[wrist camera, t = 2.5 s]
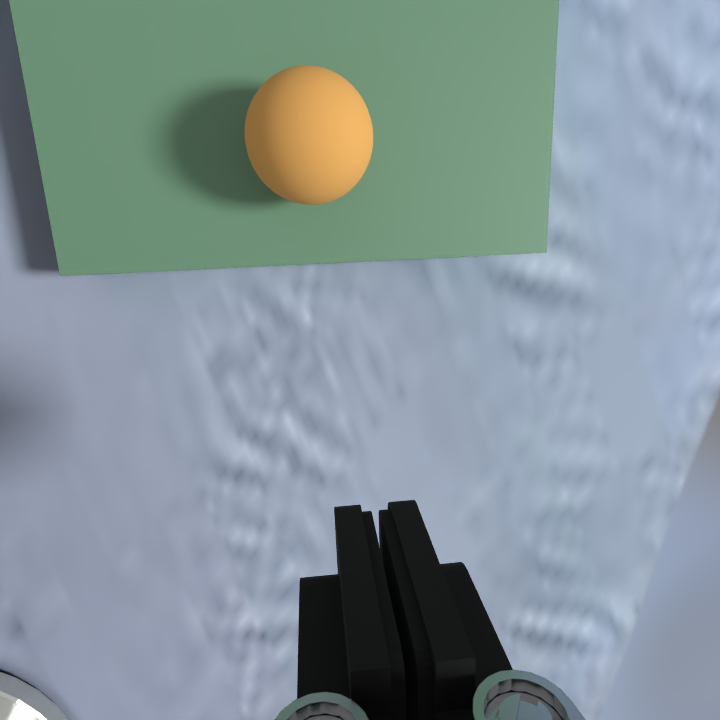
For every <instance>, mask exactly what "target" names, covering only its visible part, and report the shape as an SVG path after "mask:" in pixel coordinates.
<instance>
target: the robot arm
mask: <svg viewBox="0 0 720 720" xmlns="http://www.w3.org/2000/svg"><path fill="white" fill-rule="evenodd" d="M334 513H335V530H336V548H337V565H338V574H336V575H326V576H315V577H305V578H300V592H299V639H298V685H297V699H296V700H294V701H293V702H292V703H291V704H289V705H288V706H287V707H285V708H284V709H283V710H282V711H281V712H280V713H279V715H278V716H277V717H276V719H275V720H585V719H584V717H583V716H582V714H581V713H580V712H579V710H578V709H577V707H576V706H575V705H574V703H573V702H572V701H571V700H570V699H569V697H568V696H567V695H566V694H565V693H564V692H563V691H562V690H561V689H560V688H559V687H557V686H556V685H555V684H553V683H552V682H550V681H549V680H547V679H546V678H543V677H541V676H538V675H536V674H533V673H531V672H526V671H519V670H513V669H512V667H511V665H510V662H509V660H508V658H507V656H506V654H505V652H504V649H503V647H502V645H501V643H500V641H499V638H498V636H497V634H496V632H495V630H494V627H493V625H492V623H491V621H490V619H489V616H488V614H487V612H486V610H485V608H484V606H483V603H482V601H481V599H480V597H479V595H478V592H477V590H476V588H475V586H474V584H473V581H472V579H471V577H470V575H469V573H468V571H467V569H466V567H465V565H464V564H463V563H462V562H457V563H447V564H440V563H439V561H438V558H437V555H436V553H435V550H434V548H433V545H432V542H431V540H430V537H429V535H428V532H427V529H426V527H425V524H424V522H423V519H422V516H421V514H420V511H419V509H418V506H417V503H416V501H415V500H409V501H397V502H389V503H388V510H379V540H380V548H379V543H378V539H377V534H376V530H375V525H374V521H373V516H372V512H371V511H365V512H362V510H361V505H351V506H340V507H334ZM0 720H68V718H67V717H66V716H65V715H64V714H63V712H62V711H61V710H60V709H59V708H58V706H57V705H56V704H54V703H53V702H52V701H51V700H50V699H48V698H47V697H46V696H45V695H44V694H42V693H41V692H40V691H39V690H37V689H35V688H34V687H32V686H30V685H28V684H26V683H25V682H23V681H21V680H19V679H18V678H16V677H13V676H10V675H8V674H5V673H2V672H0Z"/></svg>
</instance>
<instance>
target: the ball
mask: <svg viewBox="0 0 720 720" xmlns="http://www.w3.org/2000/svg"><path fill="white" fill-rule="evenodd" d="M245 143H246V149H247V153H248V156H249V159H250V162H251V164H252V166H253V168H254V170H255V172H256V173H257V175H258V176H259V178H260V179H261V180H262V181H263V183H264V184H265V185H266V186H267V187H268V188H270V189H271V190H272V191H273V192H274V193H276V194H277V195H279V196H281V197H282V198H285V199H287V200H289V201H292V202H295V203H299V204H305V205H317V204H324V203H328V202H331V201H334V200H336V199H338V198H340V197H342V196H343V195H345V194H346V193H348V192H349V191H350V190H351V189H352V188H353V187H354V186H355V185H356V184H357V183H358V182H359V180H360V179H361V178H362V176H363V174H364V172H365V171H366V168H367V166H368V164H369V161H370V158H371V154H372V148H373V127H372V122H371V117H370V114H369V112H368V109H367V106H366V104H365V102H364V100H363V99H362V97H361V96H360V94H359V92H358V91H357V90H356V89H355V88H354V87H353V85H352V84H350V83H349V82H348V81H347V80H346V79H345V78H343V77H342V76H340V75H339V74H337V73H335V72H333V71H332V70H329V69H326V68H323V67H319V66H313V65H300V66H294V67H290V68H287V69H284V70H282V71H280V72H278V73H276V74H275V75H273V76H272V77H270V78H269V79H268V80H267V81H266V82H265V83H264V84H263V85H262V86H261V87H260V88H259V90H258V91H257V93H256V94H255V95H254V97H253V99H252V101H251V103H250V106H249V109H248V111H247V116H246V120H245Z"/></svg>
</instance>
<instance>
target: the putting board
mask: <svg viewBox="0 0 720 720" xmlns="http://www.w3.org/2000/svg"><path fill="white" fill-rule="evenodd" d="M9 3H10V8H11V14H12V19H13V25H14V30H15V35H16V41H17V46H18V52H19V57H20V62H21V68H22V73H23V79H24V84H25V90H26V95H27V100H28V106H29V111H30V117H31V122H32V127H33V133H34V138H35V144H36V149H37V155H38V160H39V165H40V171H41V176H42V182H43V187H44V192H45V198H46V203H47V209H48V214H49V220H50V225H51V230H52V236H53V241H54V247H55V252H56V257H57V263H58V268H59V274H60V276H71V275H91V274H112V273H133V272H154V271H174V270H195V269H216V268H237V267H258V266H278V265H299V264H320V263H341V262H361V261H382V260H403V259H424V258H445V257H465V256H486V255H507V254H528V253H546V251H547V231H548V211H549V191H550V171H551V151H552V131H553V111H554V91H555V71H556V51H557V31H558V11H559V0H9ZM300 65H313V66H319V67H323V68H326V69H329V70H332V71H333V72H335V73H337V74H339V75H340V76H342V77H343V78H345V79H346V80H347V81H348V82H349V83H350V84H352V85H353V87H354V88H355V89H356V90H357V91H358V92H359V94H360V96H361V97H362V99H363V100H364V102H365V104H366V106H367V109H368V112H369V114H370V117H371V122H372V127H373V148H372V154H371V158H370V161H369V164H368V166H367V168H366V171H365V172H364V174H363V176H362V178H361V179H360V180H359V182H358V183H357V184H356V185H355V186H354V187H353V188H352V189H351V190H350V191H349V192H348V193H346V194H345V195H343V196H342V197H340V198H338V199H336V200H334V201H331V202H328V203H324V204H317V205H305V204H299V203H295V202H292V201H289V200H287V199H285V198H282V197H281V196H279V195H277V194H276V193H274V192H273V191H272V190H271V189H270V188H268V187H267V186H266V185H265V184H264V183H263V181H262V180H261V179H260V178H259V176H258V175H257V173H256V172H255V170H254V168H253V166H252V164H251V162H250V159H249V156H248V153H247V149H246V143H245V120H246V116H247V111H248V109H249V106H250V103H251V101H252V99H253V97H254V95H255V94H256V93H257V91H258V90H259V88H260V87H261V86H262V85H263V84H264V83H265V82H266V81H267V80H268V79H269V78H270V77H272V76H273V75H275V74H276V73H278V72H280V71H282V70H284V69H287V68H290V67H294V66H300Z"/></svg>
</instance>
